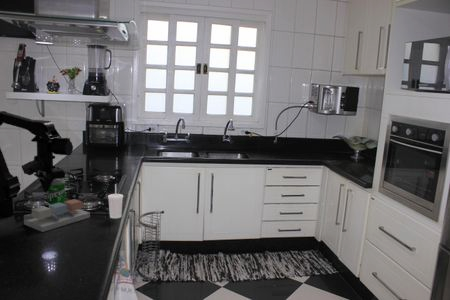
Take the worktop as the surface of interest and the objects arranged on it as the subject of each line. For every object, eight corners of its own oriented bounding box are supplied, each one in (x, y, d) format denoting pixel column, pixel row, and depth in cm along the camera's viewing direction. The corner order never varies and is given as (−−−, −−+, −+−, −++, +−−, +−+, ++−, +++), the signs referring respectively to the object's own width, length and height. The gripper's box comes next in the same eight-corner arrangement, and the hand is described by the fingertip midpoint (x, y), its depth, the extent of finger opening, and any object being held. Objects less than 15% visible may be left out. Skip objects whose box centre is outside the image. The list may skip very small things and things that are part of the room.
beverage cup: (107, 219, 163) (107, 186, 161) (108, 214, 169) (108, 182, 166) (123, 218, 165) (123, 185, 162) (123, 213, 171) (123, 182, 168)
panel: (24, 224, 153) (23, 215, 153) (71, 210, 171) (71, 203, 170) (42, 232, 147) (42, 222, 146) (89, 217, 164) (89, 209, 164)
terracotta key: (64, 208, 163) (64, 201, 163) (74, 205, 167) (74, 199, 167) (71, 211, 161) (71, 204, 160) (81, 208, 165) (81, 201, 164)
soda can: (44, 204, 177) (43, 178, 175) (61, 201, 182) (60, 176, 180) (52, 209, 172) (51, 182, 170) (68, 205, 177) (68, 179, 175)
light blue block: (48, 212, 157) (48, 205, 157) (59, 209, 161) (59, 202, 161) (56, 215, 155) (56, 207, 154) (67, 212, 159) (66, 204, 158)
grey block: (31, 216, 152) (31, 209, 151) (43, 213, 156) (43, 206, 155) (39, 219, 149) (39, 211, 149) (51, 216, 153) (50, 208, 153)
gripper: (12, 152, 155) (13, 190, 158) (38, 159, 144) (39, 201, 147) (39, 149, 164) (40, 185, 167) (66, 156, 153) (66, 195, 156)
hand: (45, 191), depth 159 cm, fingers closed
